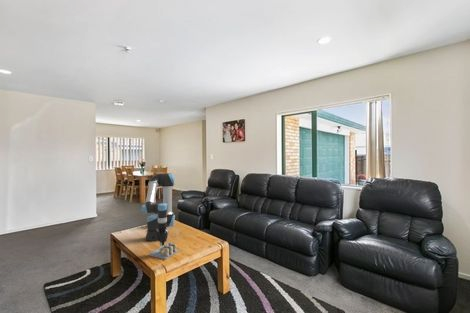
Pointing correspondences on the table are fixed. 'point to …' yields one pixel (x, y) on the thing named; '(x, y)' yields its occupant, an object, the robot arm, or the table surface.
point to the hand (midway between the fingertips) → (162, 249)
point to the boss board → (157, 254)
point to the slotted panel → (167, 250)
